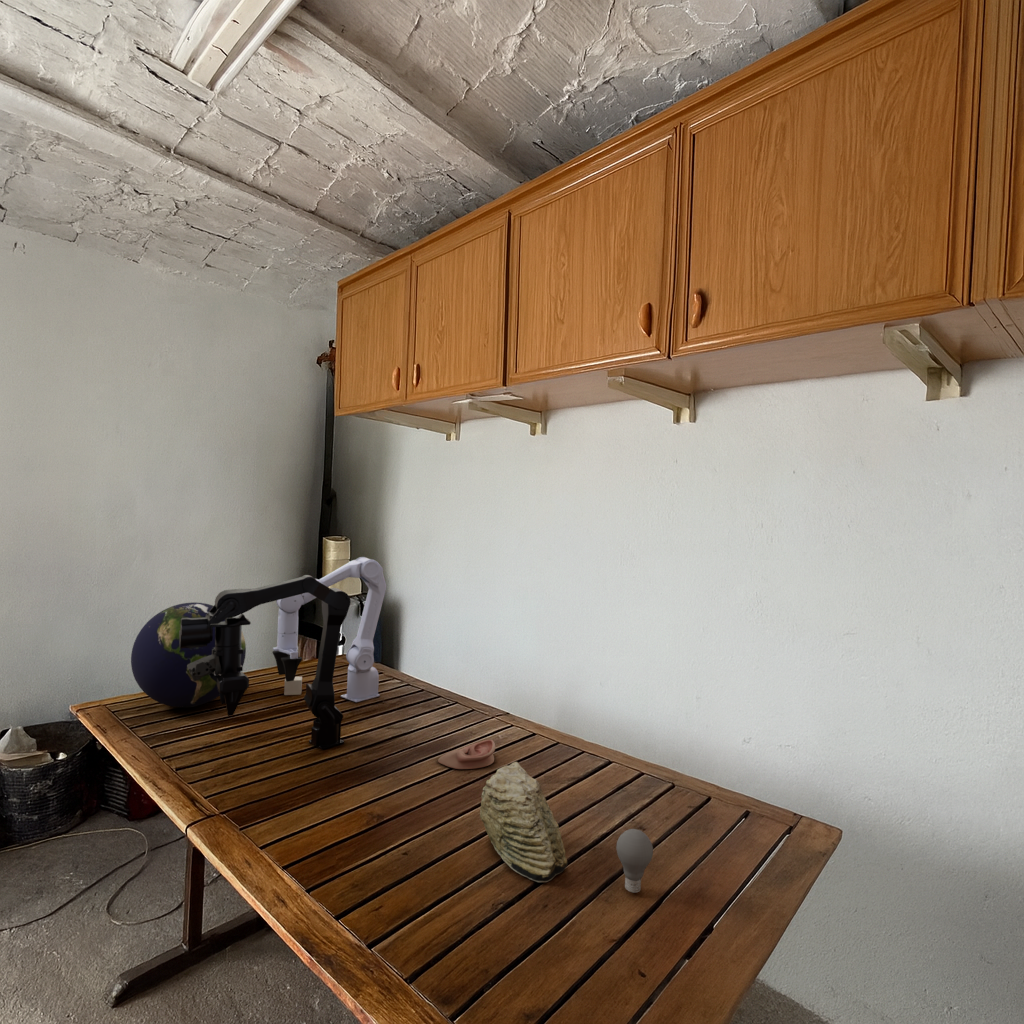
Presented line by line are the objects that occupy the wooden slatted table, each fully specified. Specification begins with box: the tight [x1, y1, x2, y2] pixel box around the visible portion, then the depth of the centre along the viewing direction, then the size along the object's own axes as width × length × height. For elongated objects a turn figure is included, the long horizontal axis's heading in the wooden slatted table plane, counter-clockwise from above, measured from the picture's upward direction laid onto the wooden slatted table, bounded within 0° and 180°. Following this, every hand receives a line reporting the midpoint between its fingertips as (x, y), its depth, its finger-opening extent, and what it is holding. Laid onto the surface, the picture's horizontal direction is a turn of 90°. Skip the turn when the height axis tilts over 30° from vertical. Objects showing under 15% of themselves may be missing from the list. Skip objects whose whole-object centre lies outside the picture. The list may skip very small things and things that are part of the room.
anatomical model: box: [437, 739, 496, 770], centre depth 155 cm, size 13×4×12 cm
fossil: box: [479, 761, 569, 883], centre depth 114 cm, size 9×18×15 cm, turn 46°
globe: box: [130, 601, 247, 708], centre depth 186 cm, size 30×30×30 cm
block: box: [283, 676, 303, 696], centre depth 202 cm, size 4×5×5 cm
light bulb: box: [615, 828, 654, 894], centre depth 106 cm, size 6×6×10 cm
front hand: (227, 709), depth 150 cm, fingers open, 9 cm apart
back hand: (286, 677), depth 188 cm, fingers open, 7 cm apart
